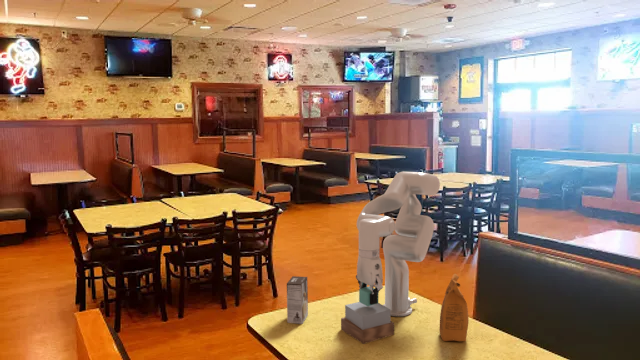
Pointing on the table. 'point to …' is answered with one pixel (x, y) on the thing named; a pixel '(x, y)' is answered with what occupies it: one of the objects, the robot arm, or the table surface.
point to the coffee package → (454, 313)
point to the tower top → (367, 315)
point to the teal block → (365, 296)
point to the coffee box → (297, 300)
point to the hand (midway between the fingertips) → (368, 300)
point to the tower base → (367, 331)
